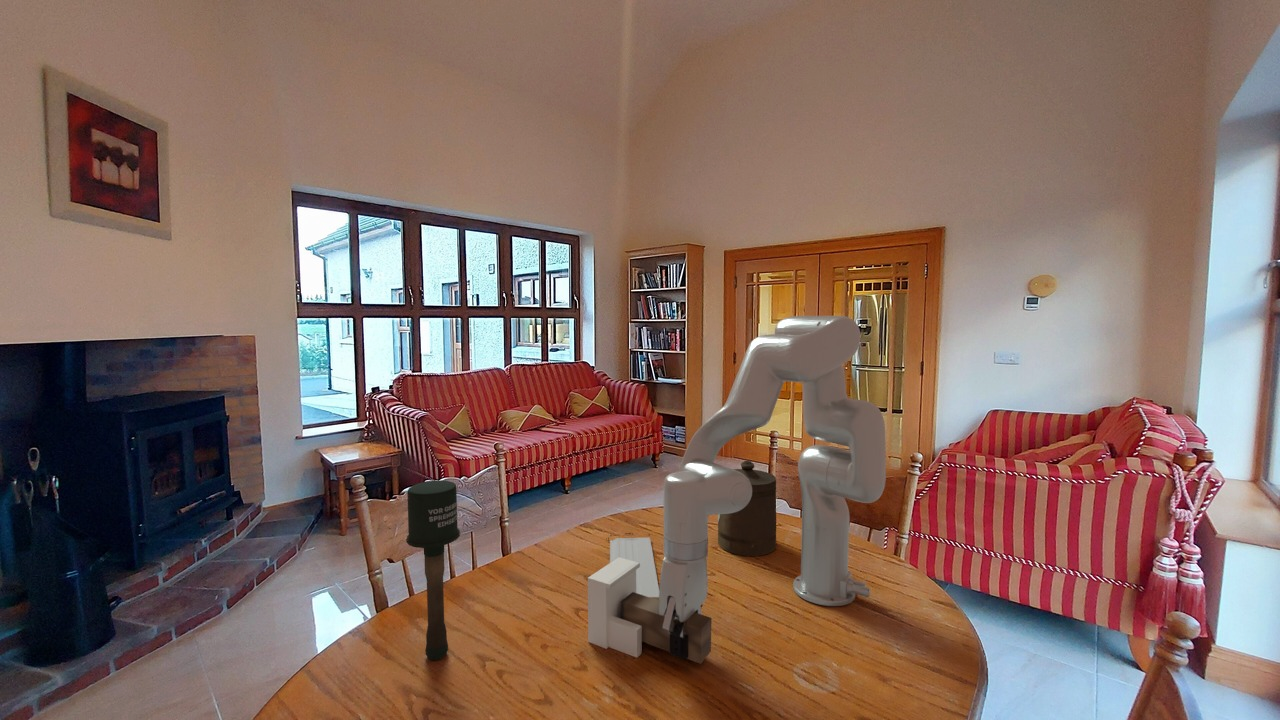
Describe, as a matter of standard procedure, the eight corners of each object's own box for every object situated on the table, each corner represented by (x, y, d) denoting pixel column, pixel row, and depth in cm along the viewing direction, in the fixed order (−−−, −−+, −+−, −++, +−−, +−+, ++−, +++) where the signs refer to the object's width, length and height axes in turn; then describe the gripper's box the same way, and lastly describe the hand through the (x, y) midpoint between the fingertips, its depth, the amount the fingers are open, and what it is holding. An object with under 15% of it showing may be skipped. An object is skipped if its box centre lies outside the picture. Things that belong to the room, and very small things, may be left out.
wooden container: (740, 529, 151) (741, 451, 150) (787, 545, 140) (788, 461, 139) (706, 544, 141) (706, 461, 140) (753, 562, 130) (754, 472, 129)
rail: (710, 651, 93) (711, 617, 92) (700, 663, 89) (701, 629, 89) (632, 622, 101) (632, 591, 101) (620, 633, 98) (620, 601, 97)
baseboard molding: (602, 605, 112) (660, 604, 112) (602, 592, 112) (660, 590, 112) (604, 543, 143) (649, 543, 143) (604, 533, 142) (650, 532, 143)
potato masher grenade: (432, 677, 88) (426, 497, 86) (399, 660, 93) (394, 488, 91) (473, 650, 95) (469, 484, 93) (441, 635, 100) (436, 476, 98)
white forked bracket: (663, 631, 101) (663, 569, 100) (634, 659, 93) (634, 592, 92) (619, 616, 106) (618, 557, 106) (588, 641, 98) (587, 577, 97)
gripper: (687, 525, 101) (687, 620, 102) (640, 559, 87) (641, 668, 88) (725, 533, 97) (724, 631, 98) (682, 570, 83) (682, 684, 84)
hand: (685, 648), depth 93 cm, fingers closed on rail, 4 cm apart
